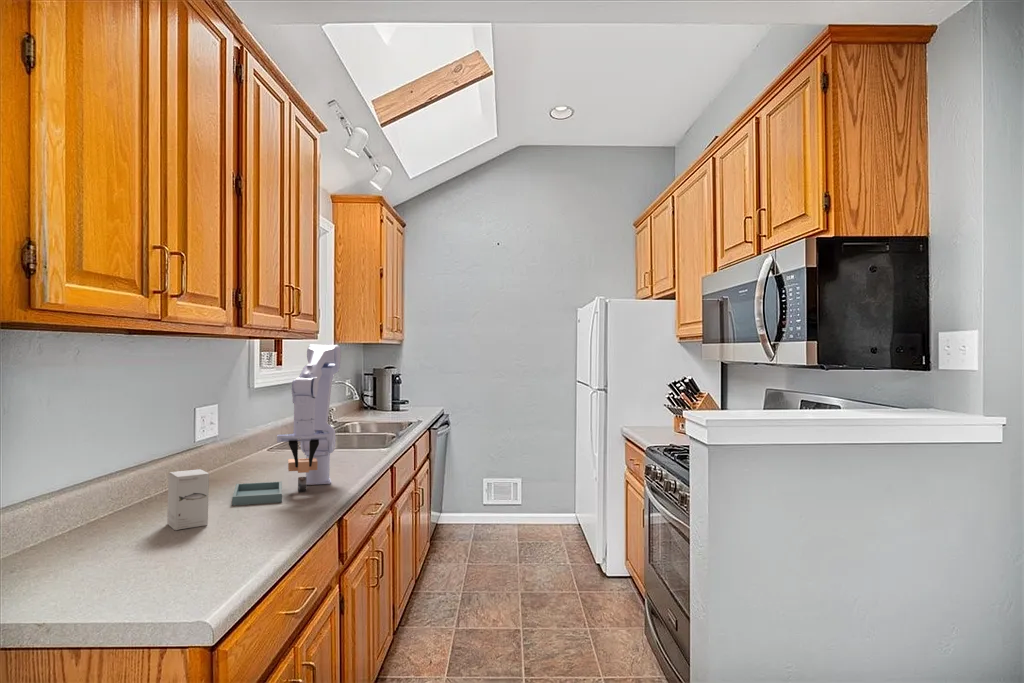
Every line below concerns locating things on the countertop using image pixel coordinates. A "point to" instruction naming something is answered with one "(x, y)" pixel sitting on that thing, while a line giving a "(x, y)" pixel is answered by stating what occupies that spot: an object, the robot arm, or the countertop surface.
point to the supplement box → (188, 499)
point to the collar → (302, 465)
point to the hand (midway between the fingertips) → (303, 466)
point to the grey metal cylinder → (302, 484)
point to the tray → (257, 493)
